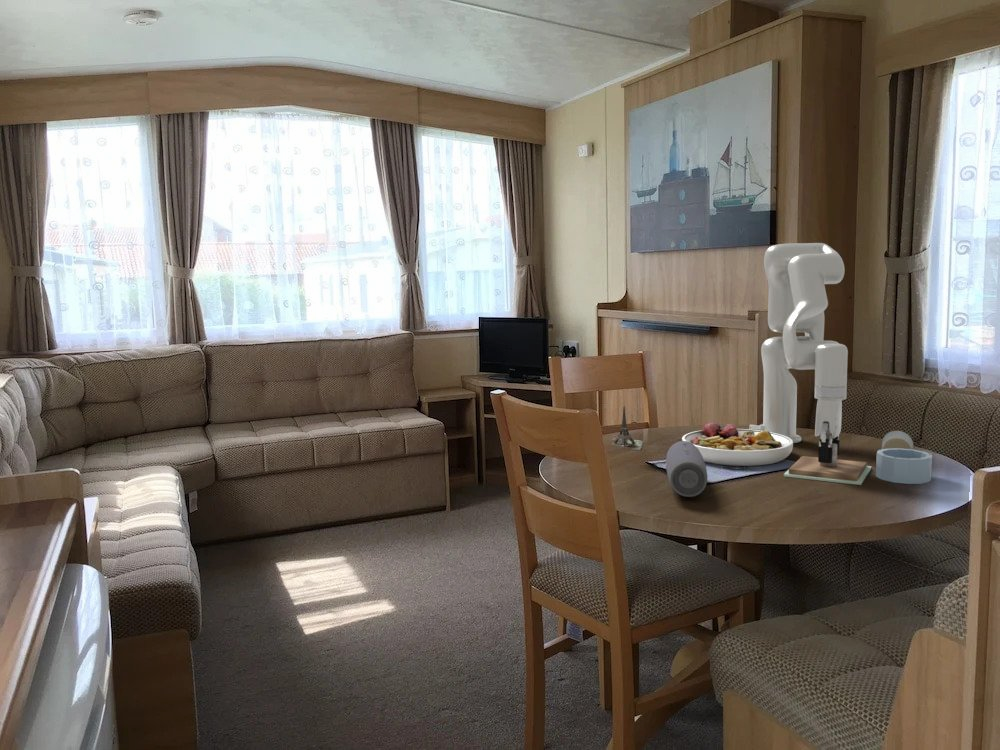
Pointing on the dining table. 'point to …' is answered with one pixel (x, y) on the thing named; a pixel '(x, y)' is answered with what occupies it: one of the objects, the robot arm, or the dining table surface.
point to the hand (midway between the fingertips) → (828, 458)
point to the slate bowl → (903, 466)
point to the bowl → (739, 445)
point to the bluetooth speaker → (686, 469)
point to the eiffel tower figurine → (626, 436)
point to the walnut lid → (829, 467)
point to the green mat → (831, 478)
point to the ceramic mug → (897, 440)
